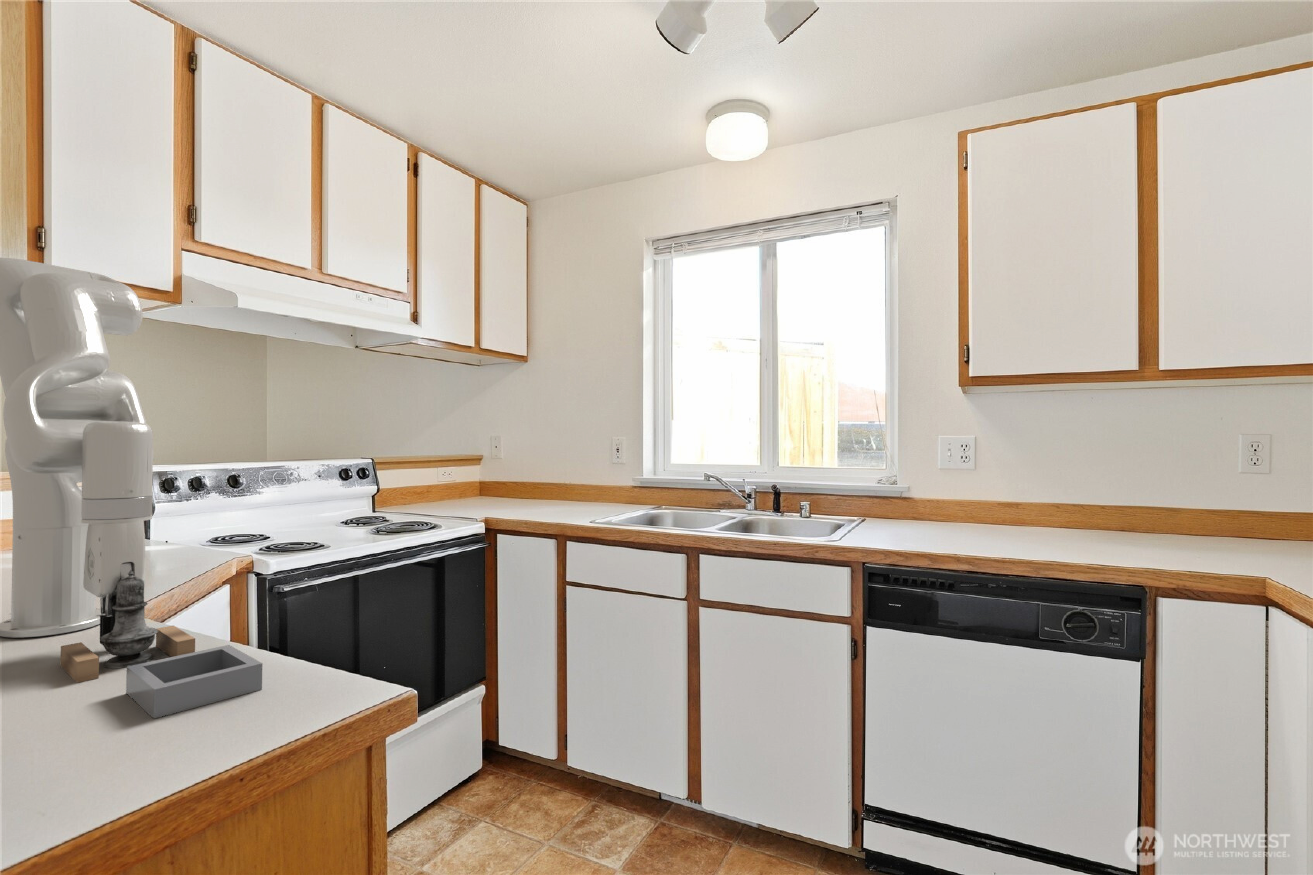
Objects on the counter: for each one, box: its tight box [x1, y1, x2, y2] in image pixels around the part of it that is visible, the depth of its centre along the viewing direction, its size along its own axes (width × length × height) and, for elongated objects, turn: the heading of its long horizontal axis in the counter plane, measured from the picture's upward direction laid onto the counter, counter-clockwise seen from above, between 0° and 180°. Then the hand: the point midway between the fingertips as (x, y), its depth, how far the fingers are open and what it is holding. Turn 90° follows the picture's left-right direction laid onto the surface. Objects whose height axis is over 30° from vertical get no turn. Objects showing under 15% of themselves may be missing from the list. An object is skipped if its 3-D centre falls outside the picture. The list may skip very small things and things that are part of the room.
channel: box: [60, 625, 196, 683], centre depth 85 cm, size 9×12×2 cm
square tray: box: [125, 644, 263, 719], centre depth 75 cm, size 10×10×3 cm
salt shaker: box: [101, 570, 158, 669], centre depth 85 cm, size 6×6×12 cm
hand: (116, 642), depth 89 cm, fingers closed
